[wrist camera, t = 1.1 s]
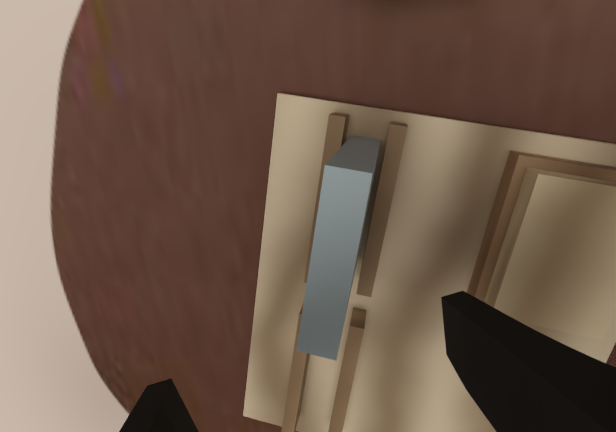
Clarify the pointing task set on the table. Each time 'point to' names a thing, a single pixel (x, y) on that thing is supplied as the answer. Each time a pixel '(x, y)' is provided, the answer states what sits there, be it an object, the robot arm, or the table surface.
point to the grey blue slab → (336, 245)
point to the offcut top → (559, 255)
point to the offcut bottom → (507, 202)
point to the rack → (384, 267)
